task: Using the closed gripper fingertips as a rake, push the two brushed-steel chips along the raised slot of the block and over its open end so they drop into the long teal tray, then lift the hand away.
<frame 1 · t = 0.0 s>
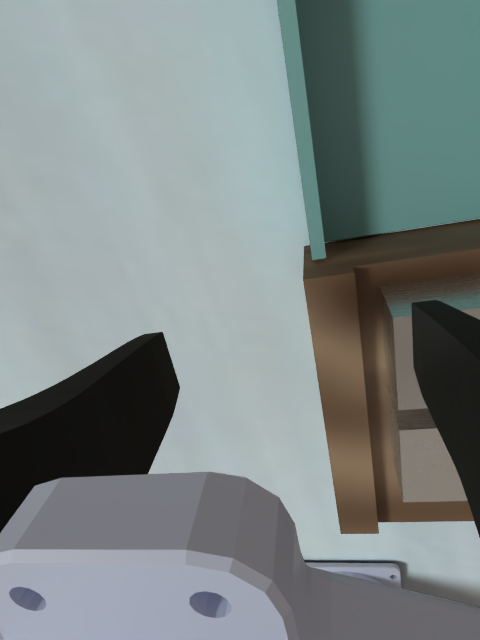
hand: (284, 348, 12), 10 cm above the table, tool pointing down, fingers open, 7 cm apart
chip 1: (433, 418, 20), point 4 cm above the table, touching channel block
channel block: (414, 363, 23), on the table
chip 2: (432, 323, 18), point 4 cm above the table, touching channel block
tray: (404, 70, 17), on the table
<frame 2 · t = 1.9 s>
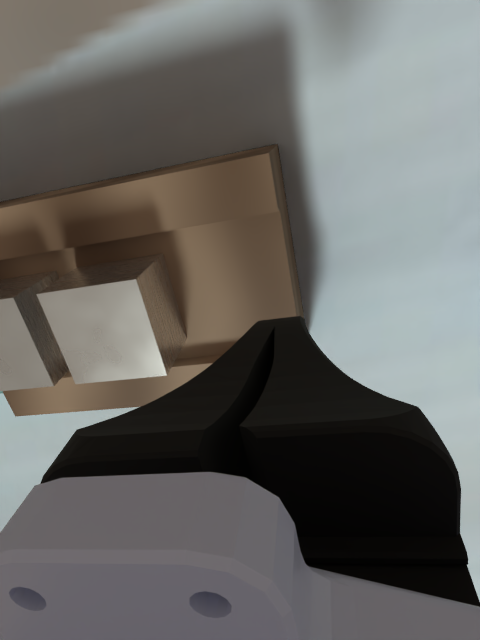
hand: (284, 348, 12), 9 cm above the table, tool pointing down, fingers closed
chip 1: (132, 303, 18), point 4 cm above the table, touching channel block
channel block: (152, 274, 22), on the table
chip 2: (34, 316, 19), point 4 cm above the table, touching channel block
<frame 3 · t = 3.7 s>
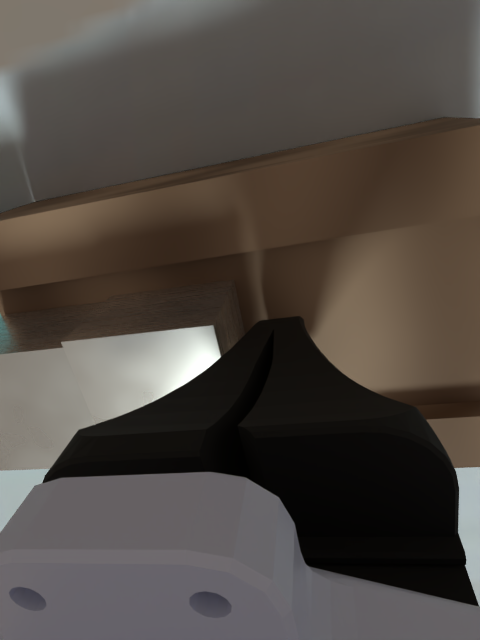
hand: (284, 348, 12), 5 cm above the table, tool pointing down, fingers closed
chip 1: (186, 345, 14), point 4 cm above the table, touching chip 2, gripper
channel block: (244, 293, 17), on the table
chip 2: (78, 360, 14), point 4 cm above the table, touching chip 1
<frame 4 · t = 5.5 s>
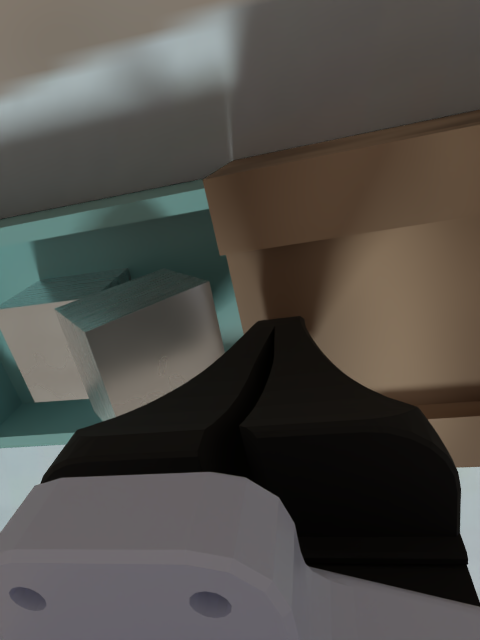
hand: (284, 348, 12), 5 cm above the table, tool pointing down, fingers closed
chip 1: (129, 338, 15), point 3 cm above the table, tilted 47°, touching chip 2
channel block: (462, 264, 15), on the table
chip 2: (61, 354, 15), point 3 cm above the table, tilted 180°, touching chip 1, tray
tray: (107, 311, 18), on the table
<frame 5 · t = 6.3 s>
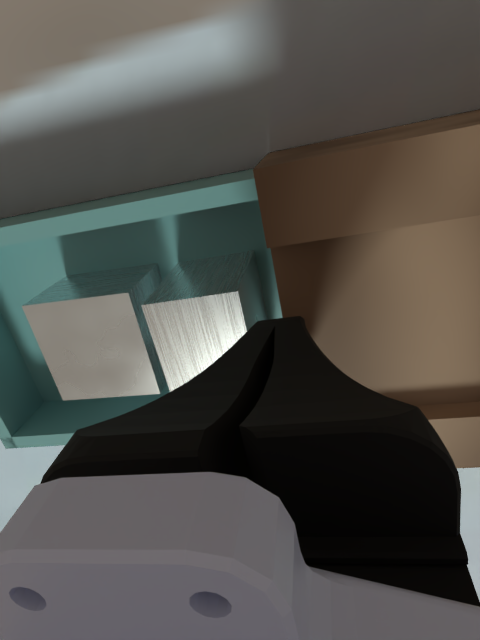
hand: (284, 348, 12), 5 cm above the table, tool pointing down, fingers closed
chip 1: (177, 332, 15), point 2 cm above the table, tilted 90°, touching tray
chip 2: (92, 351, 15), point 3 cm above the table, tilted 180°, touching tray
tray: (134, 308, 18), on the table
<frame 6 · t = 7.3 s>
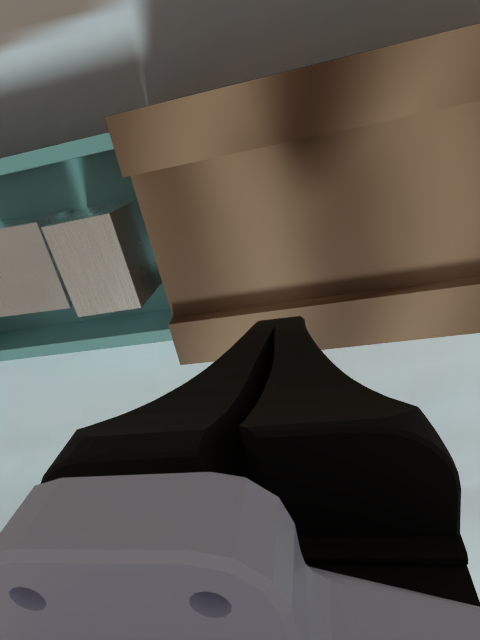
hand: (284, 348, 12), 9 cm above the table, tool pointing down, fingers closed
chip 1: (83, 259, 19), point 2 cm above the table, tilted 90°, touching tray
channel block: (334, 198, 19), on the table
chip 2: (14, 273, 19), point 3 cm above the table, tilted 180°, touching tray
tray: (58, 249, 22), on the table
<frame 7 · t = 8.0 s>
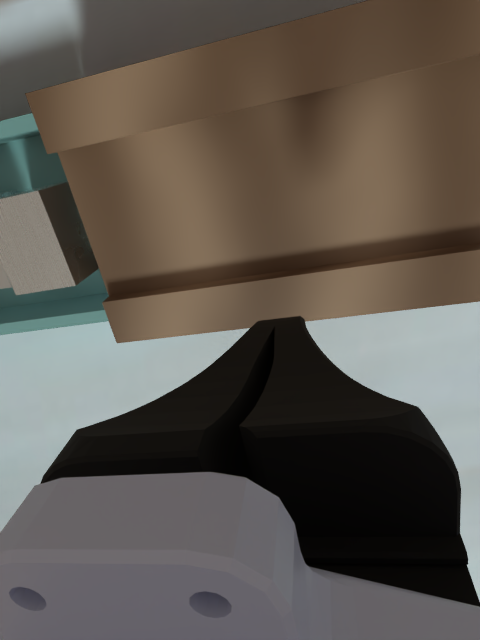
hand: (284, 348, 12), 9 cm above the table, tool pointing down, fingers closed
chip 1: (24, 239, 19), point 2 cm above the table, tilted 90°, touching tray
channel block: (272, 180, 19), on the table
tray: (8, 231, 22), on the table
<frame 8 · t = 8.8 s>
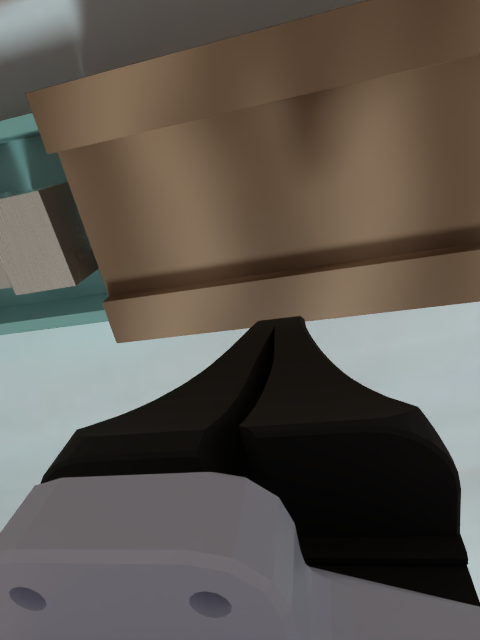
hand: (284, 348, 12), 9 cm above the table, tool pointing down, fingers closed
chip 1: (24, 239, 19), point 2 cm above the table, tilted 90°, touching tray
channel block: (272, 180, 19), on the table
tray: (8, 231, 22), on the table
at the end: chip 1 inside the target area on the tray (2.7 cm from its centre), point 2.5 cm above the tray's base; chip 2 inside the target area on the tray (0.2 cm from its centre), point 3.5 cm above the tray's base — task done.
